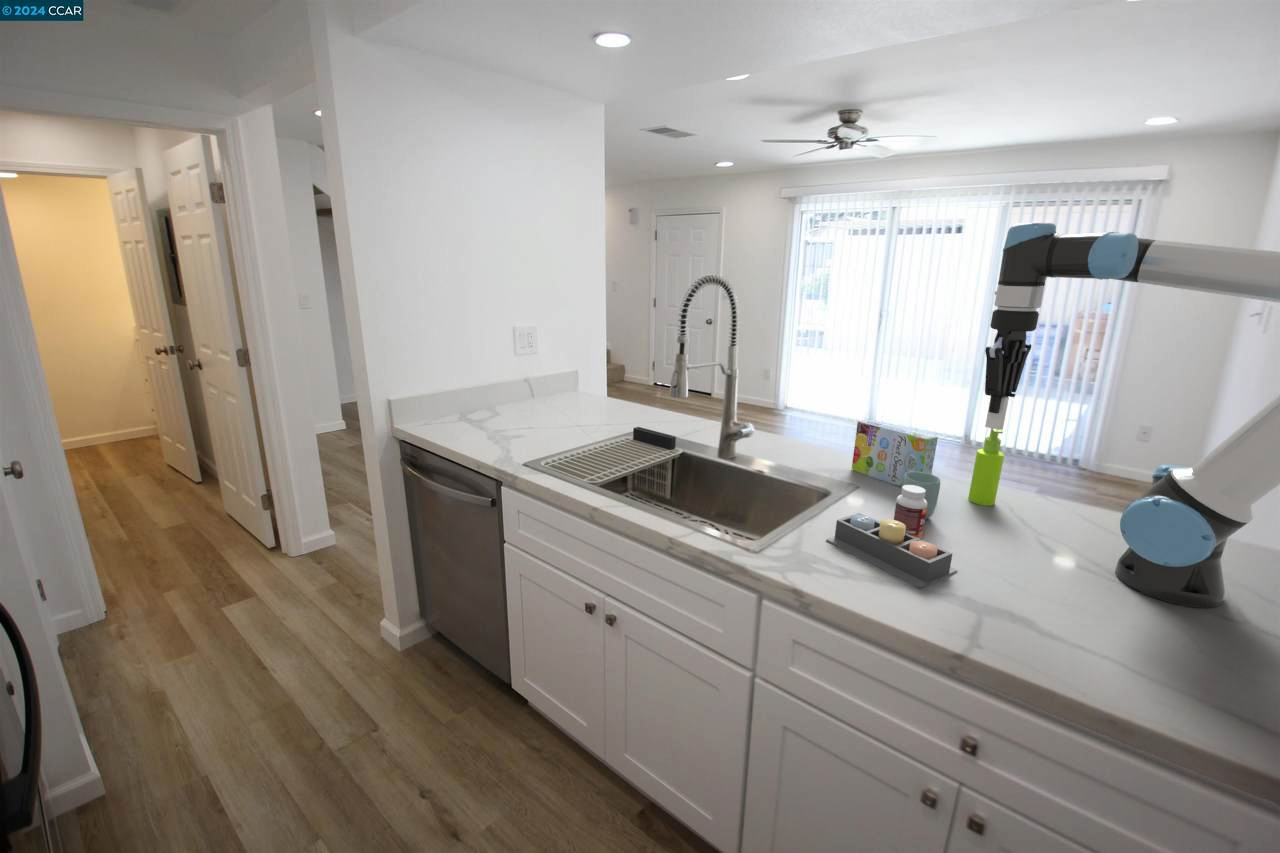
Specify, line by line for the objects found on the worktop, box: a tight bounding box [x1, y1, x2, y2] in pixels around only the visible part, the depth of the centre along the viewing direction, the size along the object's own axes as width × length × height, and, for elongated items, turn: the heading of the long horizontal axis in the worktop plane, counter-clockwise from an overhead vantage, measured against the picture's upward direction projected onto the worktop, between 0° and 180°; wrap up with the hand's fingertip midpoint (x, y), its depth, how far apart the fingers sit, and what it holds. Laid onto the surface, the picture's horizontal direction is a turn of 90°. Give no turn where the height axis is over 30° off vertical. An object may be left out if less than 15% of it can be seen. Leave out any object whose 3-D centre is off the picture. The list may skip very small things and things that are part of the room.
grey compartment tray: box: [825, 512, 958, 589], centre depth 118 cm, size 22×12×4 cm, turn 32°
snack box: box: [851, 419, 939, 488], centre depth 159 cm, size 21×6×15 cm, turn 34°
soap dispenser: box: [967, 428, 1005, 507], centre depth 144 cm, size 6×7×20 cm
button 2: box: [878, 518, 906, 545], centre depth 117 cm, size 5×5×5 cm
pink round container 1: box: [909, 540, 938, 560], centre depth 112 cm, size 5×5×5 cm
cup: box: [900, 472, 941, 520], centre depth 136 cm, size 8×8×10 cm
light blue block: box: [850, 514, 876, 531], centre depth 123 cm, size 5×5×5 cm
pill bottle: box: [893, 485, 927, 540], centre depth 126 cm, size 6×6×11 cm
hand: (993, 427), depth 116 cm, fingers closed
